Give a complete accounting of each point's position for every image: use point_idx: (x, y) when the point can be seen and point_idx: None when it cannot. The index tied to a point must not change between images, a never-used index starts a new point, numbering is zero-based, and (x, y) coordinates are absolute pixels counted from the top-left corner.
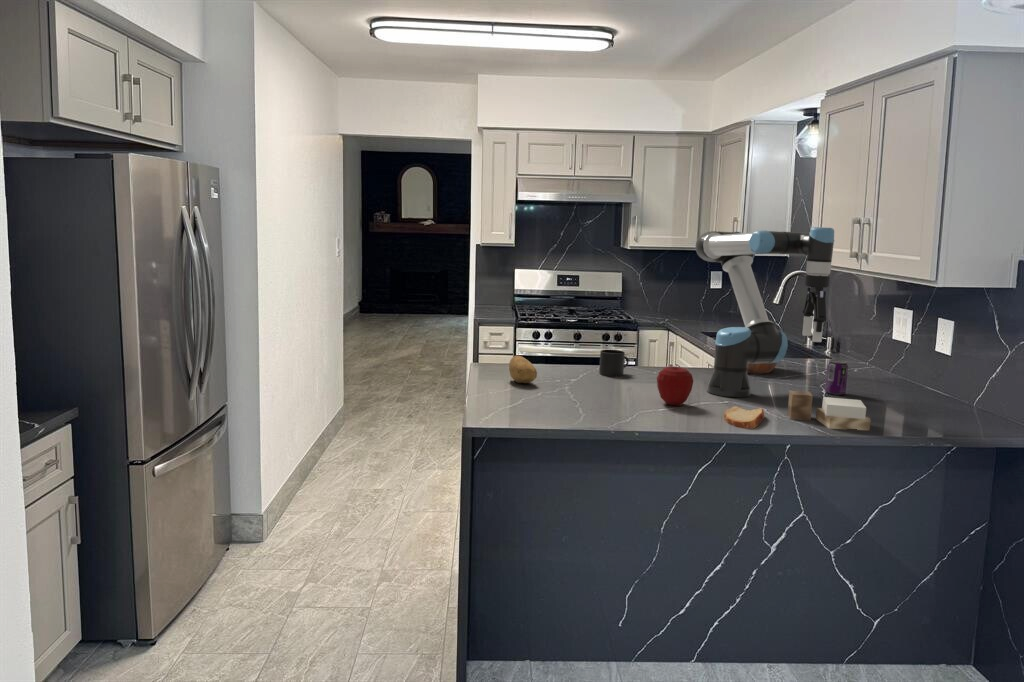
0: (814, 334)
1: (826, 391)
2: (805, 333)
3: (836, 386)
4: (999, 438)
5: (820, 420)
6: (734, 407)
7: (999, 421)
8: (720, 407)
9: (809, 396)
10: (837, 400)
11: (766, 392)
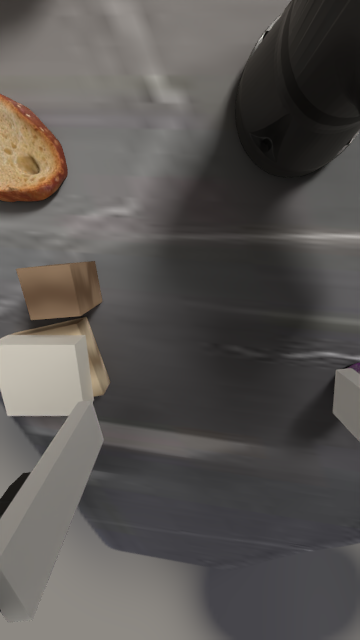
0: (57, 442)
1: (354, 364)
2: (345, 392)
3: None
4: (99, 535)
5: (59, 323)
6: (4, 108)
7: (208, 554)
8: (87, 77)
9: (30, 311)
10: (51, 371)
11: (332, 225)
